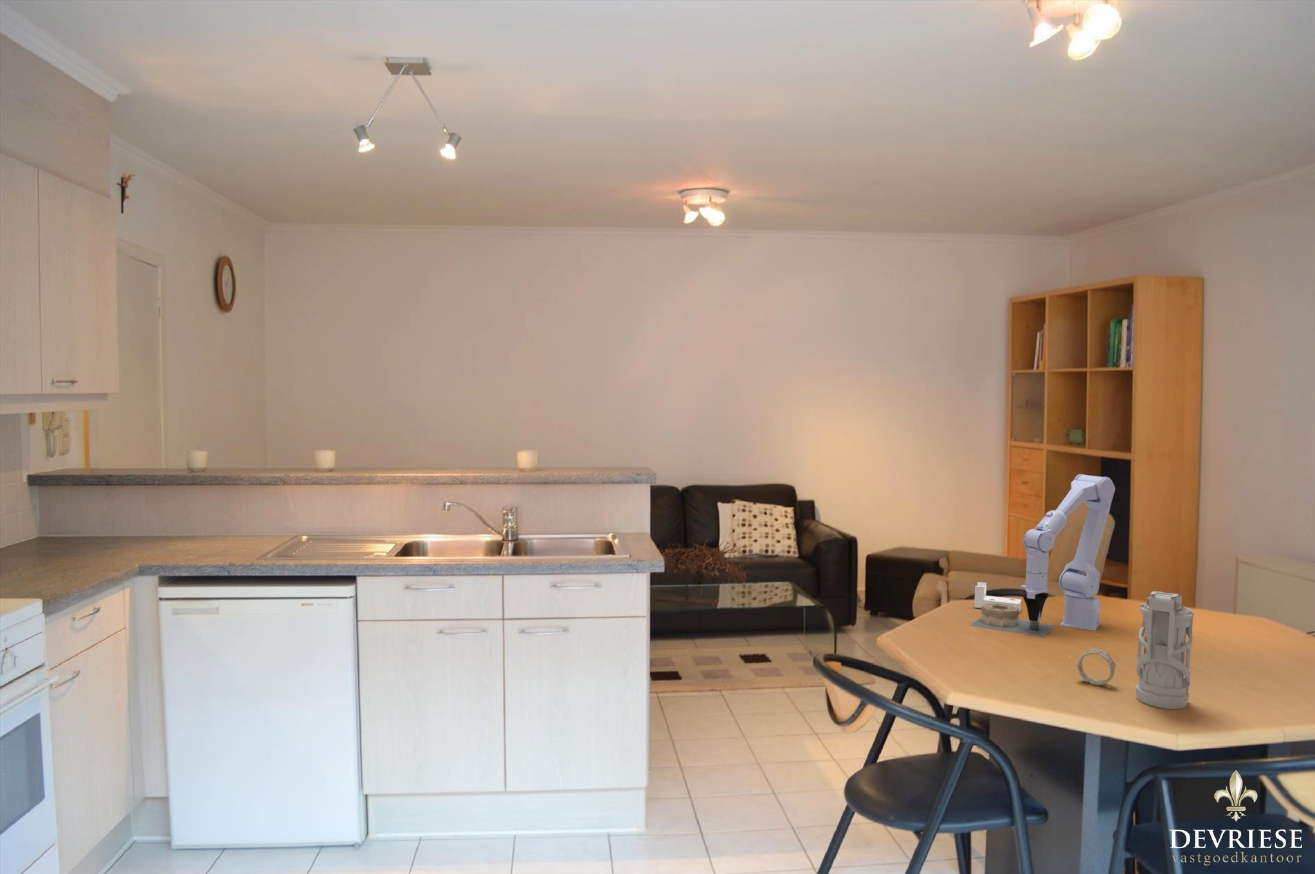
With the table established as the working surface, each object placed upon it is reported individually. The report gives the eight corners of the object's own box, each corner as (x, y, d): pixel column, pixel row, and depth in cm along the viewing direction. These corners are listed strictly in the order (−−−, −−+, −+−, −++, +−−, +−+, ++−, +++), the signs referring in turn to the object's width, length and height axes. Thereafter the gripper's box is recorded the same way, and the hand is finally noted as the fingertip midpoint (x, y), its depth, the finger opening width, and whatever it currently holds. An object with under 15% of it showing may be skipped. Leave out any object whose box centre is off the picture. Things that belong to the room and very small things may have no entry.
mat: (1055, 626, 273) (1055, 625, 273) (1044, 638, 260) (1044, 636, 260) (984, 615, 284) (984, 614, 284) (970, 626, 271) (970, 625, 271)
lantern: (1139, 690, 216) (1145, 582, 214) (1191, 700, 209) (1198, 589, 208) (1128, 705, 205) (1134, 591, 204) (1182, 716, 199) (1189, 599, 198)
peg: (1039, 629, 268) (1041, 601, 268) (1038, 631, 266) (1039, 603, 266) (1030, 627, 270) (1031, 600, 269) (1028, 629, 268) (1029, 601, 267)
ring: (1020, 621, 276) (1021, 606, 276) (1012, 628, 268) (1013, 612, 268) (986, 616, 282) (987, 601, 281) (978, 623, 274) (979, 607, 273)
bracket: (974, 610, 292) (975, 586, 292) (976, 605, 299) (977, 582, 298) (1018, 615, 287) (1020, 590, 286) (1020, 610, 293) (1021, 586, 293)
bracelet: (1079, 678, 224) (1080, 645, 223) (1115, 685, 219) (1117, 651, 219) (1075, 682, 221) (1076, 648, 220) (1112, 689, 216) (1114, 655, 216)
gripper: (1027, 566, 275) (1025, 612, 276) (1016, 574, 263) (1014, 622, 264) (1053, 569, 271) (1051, 615, 272) (1043, 577, 259) (1040, 626, 260)
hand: (1034, 619), depth 268 cm, fingers open, 3 cm apart
